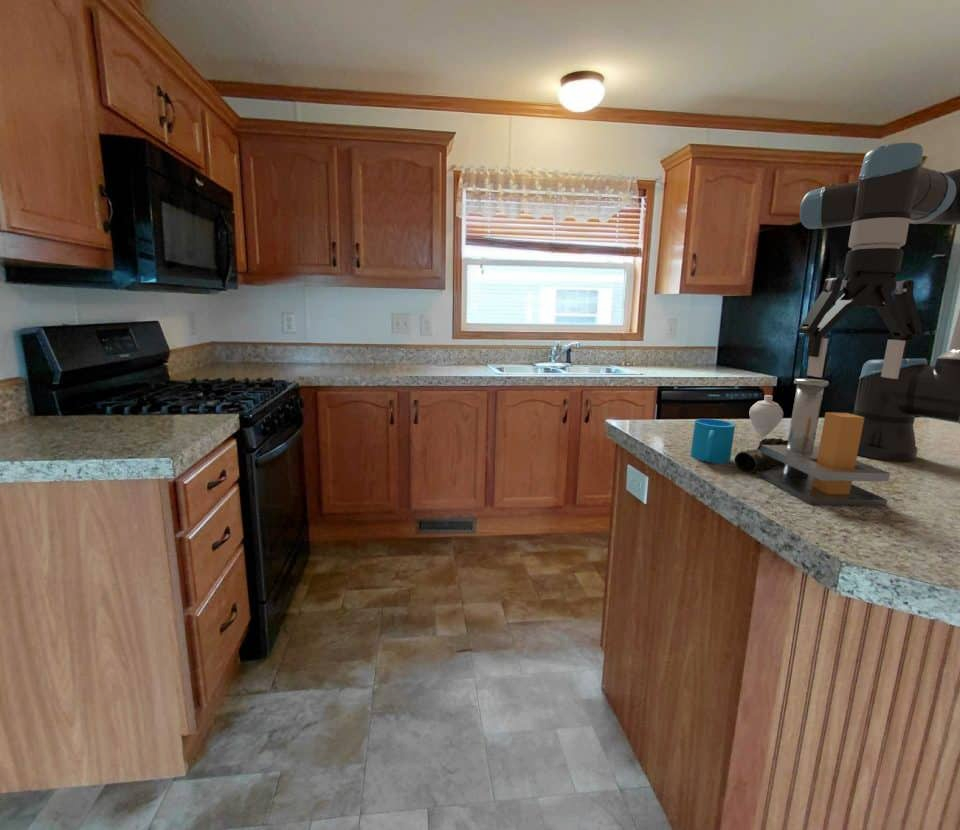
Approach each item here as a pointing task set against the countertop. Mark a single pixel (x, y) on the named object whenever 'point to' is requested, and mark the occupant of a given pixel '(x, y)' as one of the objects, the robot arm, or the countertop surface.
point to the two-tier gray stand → (815, 457)
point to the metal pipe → (758, 457)
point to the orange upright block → (838, 448)
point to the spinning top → (765, 415)
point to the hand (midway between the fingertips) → (851, 377)
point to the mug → (712, 440)
